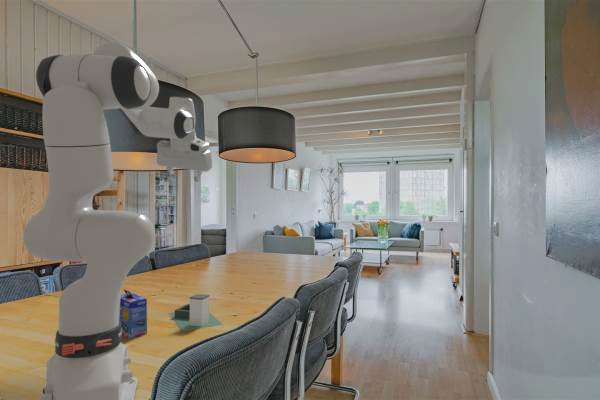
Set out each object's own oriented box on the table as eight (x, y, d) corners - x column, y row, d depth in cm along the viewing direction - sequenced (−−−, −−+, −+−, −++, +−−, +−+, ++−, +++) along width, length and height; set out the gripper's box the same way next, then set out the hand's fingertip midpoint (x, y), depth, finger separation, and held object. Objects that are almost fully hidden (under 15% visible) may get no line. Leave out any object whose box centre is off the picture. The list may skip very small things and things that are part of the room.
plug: (208, 322, 116) (209, 294, 116) (201, 326, 111) (202, 298, 111) (196, 320, 117) (197, 293, 117) (189, 325, 112) (189, 297, 112)
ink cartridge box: (114, 335, 107) (115, 288, 107) (132, 331, 111) (133, 285, 111) (129, 344, 100) (130, 293, 101) (147, 338, 105) (148, 290, 105)
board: (222, 329, 113) (223, 316, 113) (181, 336, 107) (182, 323, 107) (204, 311, 131) (204, 301, 131) (168, 317, 125) (168, 306, 125)
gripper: (151, 141, 123) (154, 178, 128) (206, 147, 120) (207, 185, 125) (161, 138, 129) (163, 173, 134) (213, 144, 126) (214, 180, 131)
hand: (185, 179), depth 130 cm, fingers open, 8 cm apart
